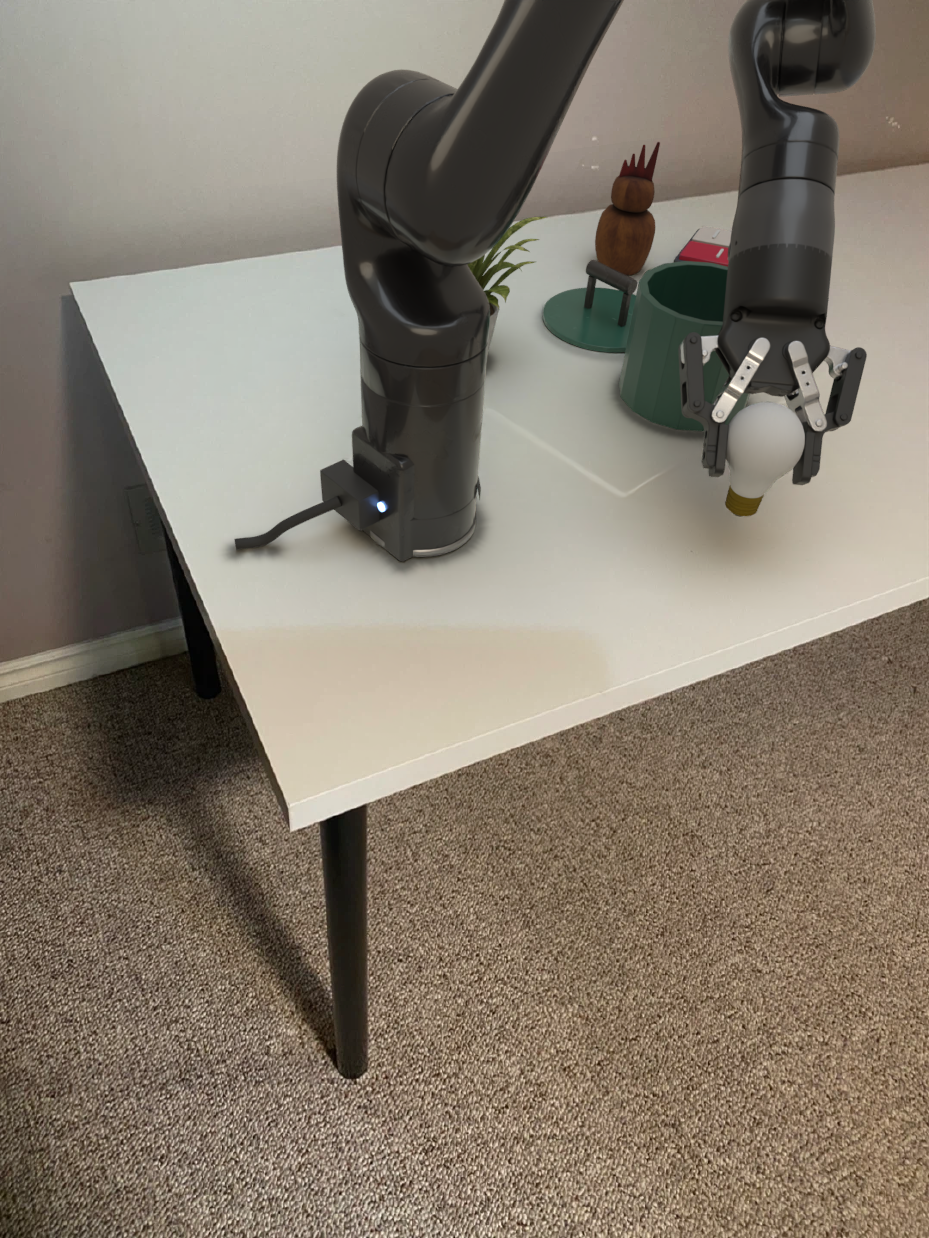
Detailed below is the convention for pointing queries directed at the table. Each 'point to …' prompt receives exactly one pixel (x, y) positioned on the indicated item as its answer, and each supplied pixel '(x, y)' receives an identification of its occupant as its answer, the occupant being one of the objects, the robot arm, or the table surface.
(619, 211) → the wooden figurine
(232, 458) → the table surface
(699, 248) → the calculator
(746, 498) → the light bulb
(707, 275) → the tin
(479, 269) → the house plant
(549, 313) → the lid
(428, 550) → the robot arm
